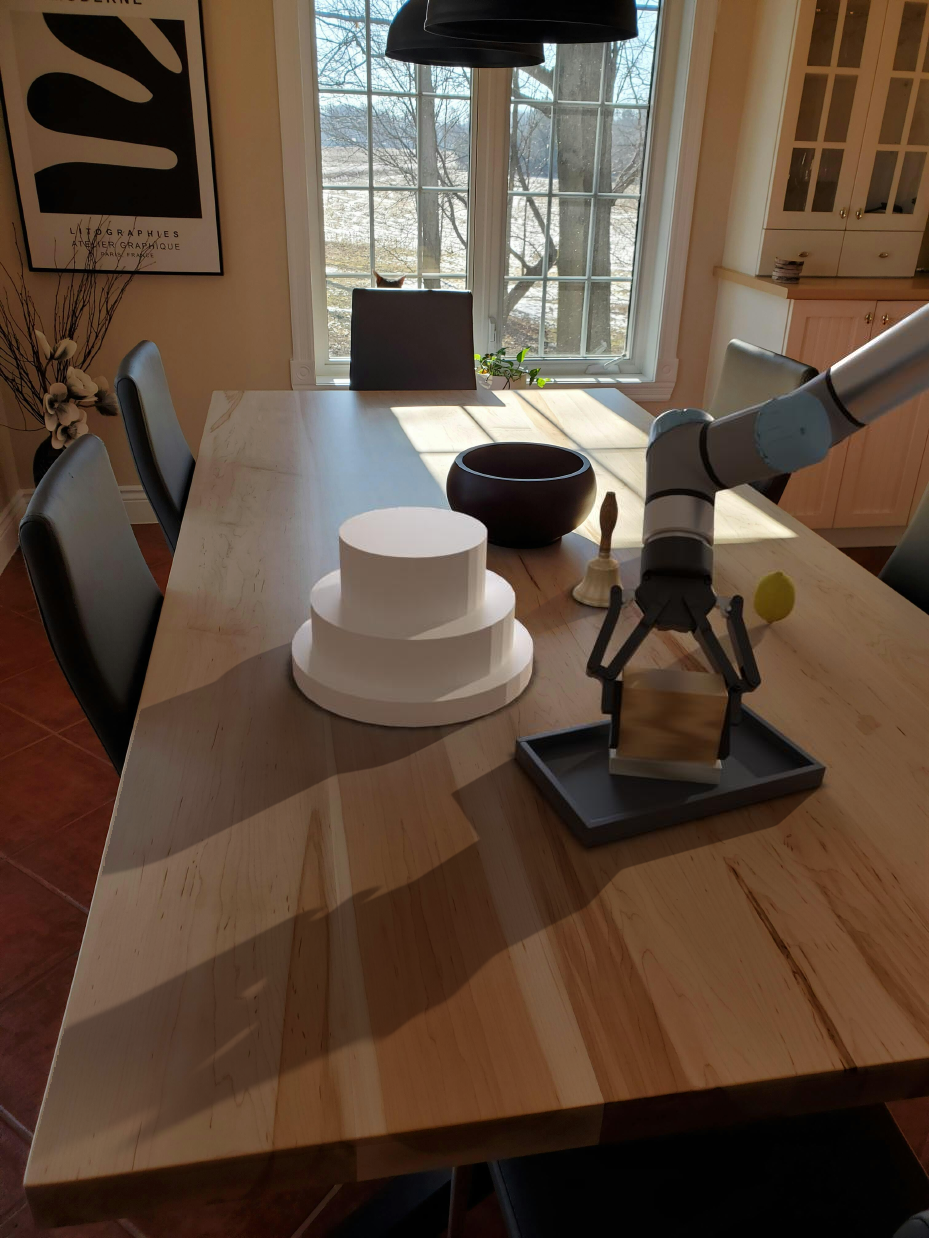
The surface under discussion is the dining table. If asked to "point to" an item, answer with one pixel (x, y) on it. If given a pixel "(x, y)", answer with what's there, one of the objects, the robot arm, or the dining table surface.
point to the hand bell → (601, 561)
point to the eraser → (670, 725)
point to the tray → (634, 805)
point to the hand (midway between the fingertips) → (668, 751)
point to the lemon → (774, 597)
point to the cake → (412, 624)
